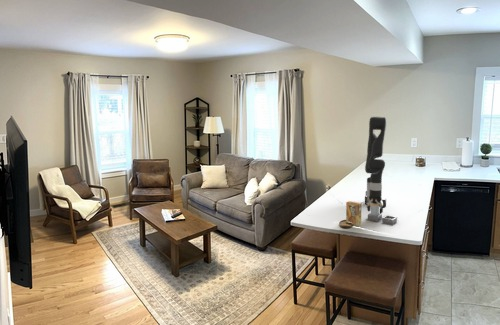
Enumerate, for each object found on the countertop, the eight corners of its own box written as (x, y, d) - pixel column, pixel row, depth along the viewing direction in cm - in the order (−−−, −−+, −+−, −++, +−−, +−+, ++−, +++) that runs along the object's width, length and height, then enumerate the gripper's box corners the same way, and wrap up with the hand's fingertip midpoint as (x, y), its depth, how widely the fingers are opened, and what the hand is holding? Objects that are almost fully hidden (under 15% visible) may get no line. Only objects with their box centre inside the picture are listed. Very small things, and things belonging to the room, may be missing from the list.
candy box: (361, 225, 225) (361, 202, 222) (358, 227, 222) (359, 204, 219) (348, 222, 230) (348, 200, 228) (345, 224, 227) (346, 202, 225)
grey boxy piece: (365, 221, 232) (365, 215, 231) (372, 216, 241) (372, 211, 240) (392, 227, 220) (392, 221, 219) (399, 222, 228) (399, 216, 228)
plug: (370, 218, 233) (370, 203, 231) (373, 217, 236) (373, 201, 234) (376, 220, 230) (376, 204, 229) (378, 218, 233) (379, 202, 232)
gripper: (362, 188, 232) (362, 211, 235) (384, 191, 222) (383, 215, 225) (367, 186, 237) (367, 209, 240) (388, 189, 228) (387, 212, 230)
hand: (374, 212), depth 232 cm, fingers open, 7 cm apart
